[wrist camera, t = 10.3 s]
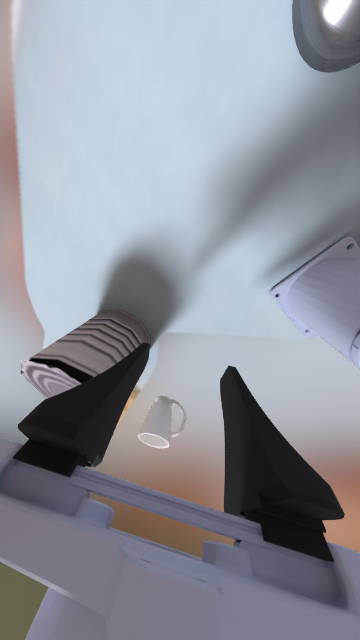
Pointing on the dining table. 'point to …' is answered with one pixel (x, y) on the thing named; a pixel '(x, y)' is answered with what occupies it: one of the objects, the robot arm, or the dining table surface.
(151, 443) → the cup
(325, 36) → the ratchet
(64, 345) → the can
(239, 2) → the dining table surface
